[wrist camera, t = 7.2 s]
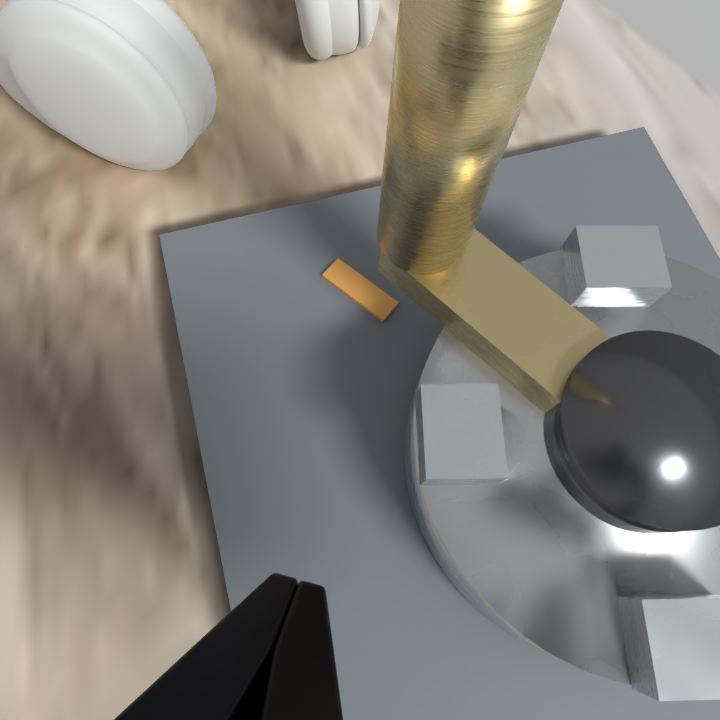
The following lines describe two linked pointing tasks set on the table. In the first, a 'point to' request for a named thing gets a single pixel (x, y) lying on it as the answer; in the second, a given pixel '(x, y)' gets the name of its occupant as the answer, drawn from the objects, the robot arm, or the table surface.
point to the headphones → (137, 70)
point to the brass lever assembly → (550, 381)
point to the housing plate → (383, 427)
